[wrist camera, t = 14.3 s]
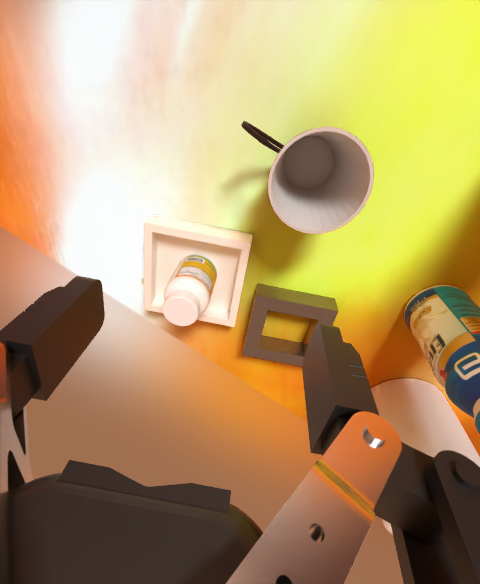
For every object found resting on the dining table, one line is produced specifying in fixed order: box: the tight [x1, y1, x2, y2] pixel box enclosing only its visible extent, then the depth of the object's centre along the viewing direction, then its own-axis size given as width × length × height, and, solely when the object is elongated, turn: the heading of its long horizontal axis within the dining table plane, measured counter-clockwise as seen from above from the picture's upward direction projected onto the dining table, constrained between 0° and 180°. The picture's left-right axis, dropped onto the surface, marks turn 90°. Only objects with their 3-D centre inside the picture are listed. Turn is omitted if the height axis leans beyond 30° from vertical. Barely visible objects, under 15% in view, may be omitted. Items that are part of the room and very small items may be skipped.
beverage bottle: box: [404, 285, 480, 433], centre depth 34 cm, size 8×8×20 cm
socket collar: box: [242, 284, 338, 367], centre depth 45 cm, size 11×11×3 cm
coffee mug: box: [242, 121, 374, 234], centre depth 29 cm, size 12×9×10 cm
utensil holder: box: [371, 378, 480, 534], centre depth 46 cm, size 15×15×18 cm
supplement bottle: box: [162, 254, 217, 326], centre depth 38 cm, size 5×5×10 cm
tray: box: [144, 214, 253, 327], centre depth 41 cm, size 13×13×3 cm
